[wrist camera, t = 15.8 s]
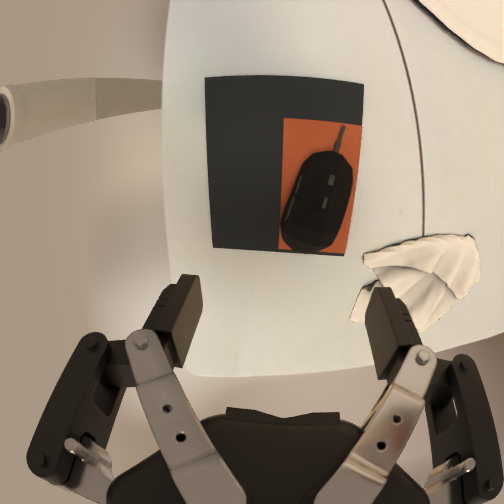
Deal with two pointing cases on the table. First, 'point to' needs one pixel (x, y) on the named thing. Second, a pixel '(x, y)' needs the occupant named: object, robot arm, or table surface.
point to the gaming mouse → (317, 201)
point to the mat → (273, 151)
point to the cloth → (423, 275)
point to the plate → (473, 23)
